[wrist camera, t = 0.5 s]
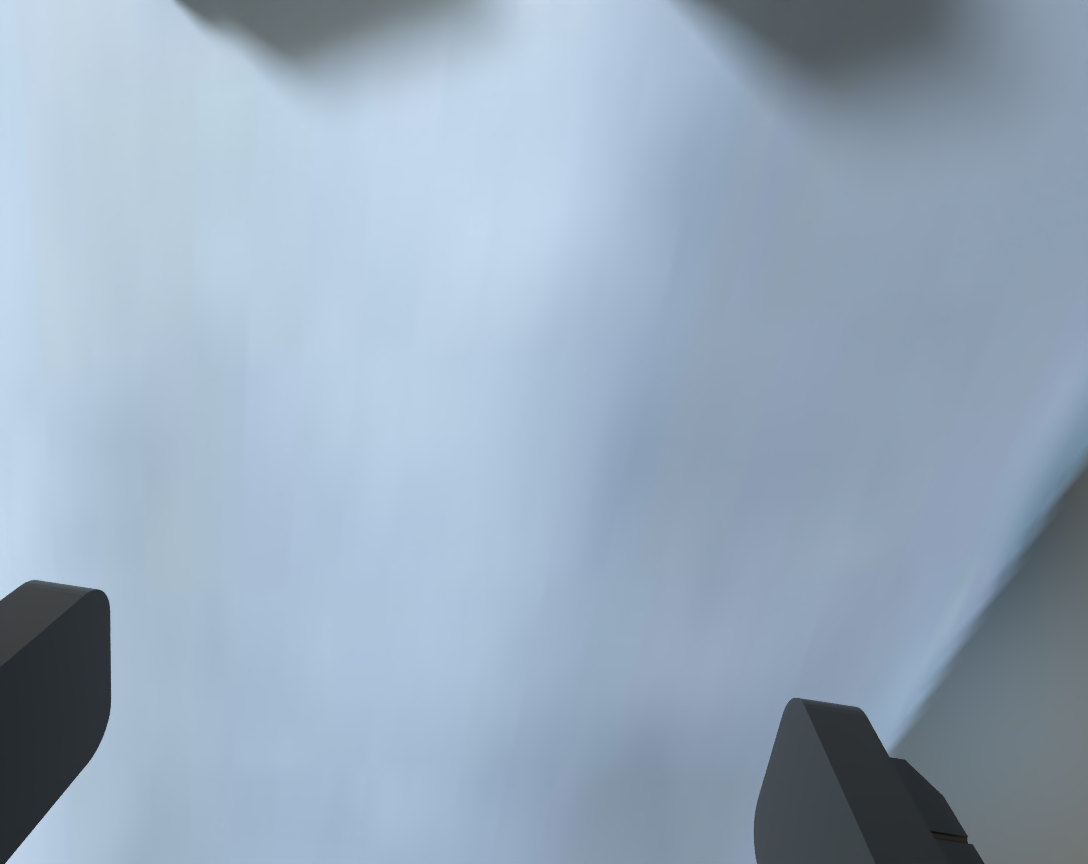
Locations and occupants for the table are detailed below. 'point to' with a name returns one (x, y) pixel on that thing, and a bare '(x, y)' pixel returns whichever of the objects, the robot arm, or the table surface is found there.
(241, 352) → the table surface
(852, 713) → the robot arm
